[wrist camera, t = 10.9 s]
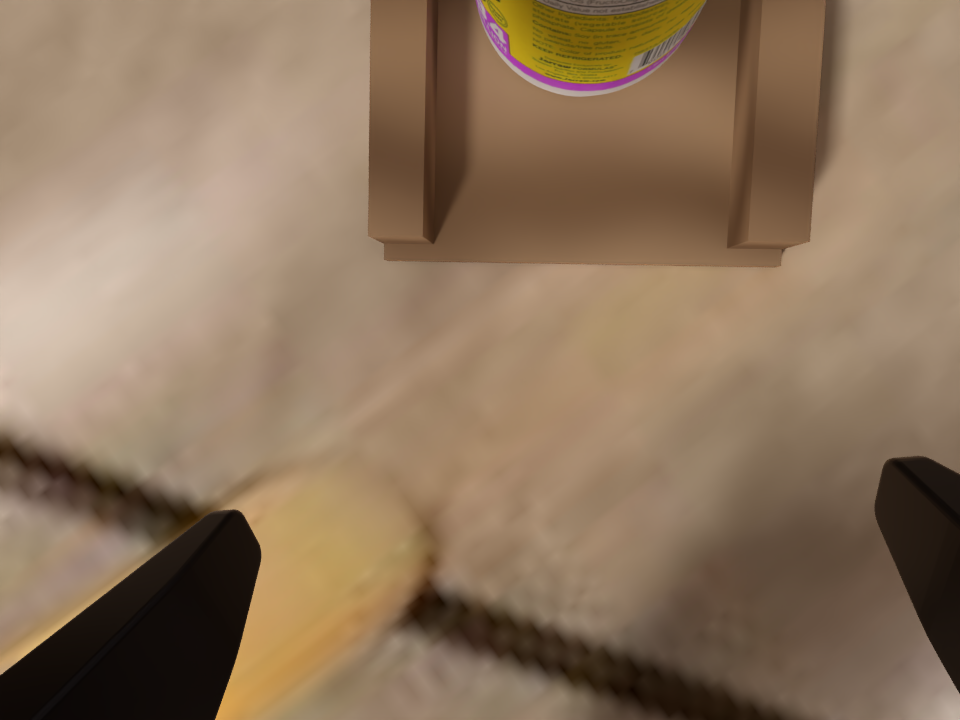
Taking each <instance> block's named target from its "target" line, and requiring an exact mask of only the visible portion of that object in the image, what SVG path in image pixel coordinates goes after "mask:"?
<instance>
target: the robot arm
mask: <svg viewBox="0 0 960 720" xmlns="http://www.w3.org/2000/svg"><path fill="white" fill-rule="evenodd" d="M875 516H876V520H877V523H878V525H879V527H880V530H881V532H882V534H883V537H884V539H885V541H886V544H887V546H888V548H889V550H890V553H891V555H892V557H893V560H894V562H895V564H896V566H897V569H898V571H899V573H900V576H901V578H902V580H903V583H904V585H905V587H906V589H907V592H908V594H909V596H910V599H911V601H912V603H913V606H914V608H915V610H916V612H917V615H918V617H919V619H920V621H921V623H922V626H923V628H924V630H925V632H926V634H927V636H928V638H929V640H930V642H931V644H932V645H933V647H934V649H935V651H936V653H937V655H938V657H939V658H940V660H941V662H942V664H943V665H944V667H945V669H946V671H947V672H948V674H949V676H950V678H951V679H952V681H953V683H954V685H955V686H956V688H957V690H958V692H959V693H960V474H958V473H956V472H954V471H952V470H951V469H949V468H947V467H945V466H943V465H941V464H939V463H937V462H935V461H934V460H932V459H929V458H927V457H923V456H913V457H900V458H892V459H889V460H887V461H886V463H885V464H884V466H883V469H882V474H881V478H880V483H879V487H878V491H877V496H876V500H875ZM260 562H261V549H260V545H259V543H258V541H257V539H256V537H255V535H254V533H253V532H252V530H251V528H250V526H249V524H248V522H247V520H246V519H245V517H244V515H243V514H242V513H241V512H240V511H238V510H222V511H214V512H211V513H209V514H208V515H206V516H205V517H204V518H202V519H201V520H200V521H198V522H197V523H196V524H195V525H193V526H192V527H191V528H189V529H188V530H187V531H186V532H184V533H183V534H182V535H180V536H179V537H178V538H177V539H175V540H174V541H173V542H171V543H170V544H169V545H168V546H166V547H165V548H164V549H162V550H161V551H160V552H159V553H157V554H156V555H155V556H153V557H152V558H151V559H150V560H148V561H147V562H146V563H144V564H143V565H142V566H141V567H139V568H138V569H137V570H135V571H134V572H133V573H131V574H130V575H129V576H128V577H126V578H125V579H124V580H122V581H121V582H120V583H119V584H117V585H116V586H115V587H113V588H112V589H111V590H110V591H108V592H107V593H106V594H104V595H103V596H102V597H101V598H99V599H98V600H97V601H95V602H94V603H93V604H92V605H90V606H89V607H88V608H86V609H85V610H84V611H83V612H81V613H80V614H79V615H77V616H76V617H75V618H73V619H72V620H71V621H70V622H68V623H67V624H66V625H64V626H63V627H62V628H61V629H59V630H58V631H57V632H55V633H54V634H53V635H52V636H50V637H49V638H48V639H46V640H45V641H44V642H43V643H41V644H40V645H39V646H37V647H36V648H35V649H34V650H32V651H31V652H30V653H28V654H27V655H26V656H25V657H23V658H22V659H21V660H19V661H18V662H17V663H16V664H14V665H13V666H12V667H10V668H9V669H8V670H6V671H5V672H4V673H3V674H1V675H0V720H215V718H216V715H217V713H218V710H219V707H220V704H221V701H222V699H223V696H224V693H225V690H226V687H227V684H228V682H229V679H230V676H231V673H232V670H233V667H234V664H235V661H236V657H237V654H238V650H239V647H240V643H241V639H242V635H243V631H244V627H245V623H246V619H247V615H248V611H249V607H250V603H251V599H252V595H253V591H254V587H255V583H256V579H257V575H258V571H259V567H260Z"/></svg>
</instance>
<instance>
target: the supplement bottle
mask: <svg viewBox="0 0 960 720" xmlns="http://www.w3.org/2000/svg"><path fill="white" fill-rule="evenodd" d="M706 2H707V0H476V4H477V8H478V12H479V15H480V18H481V22H482V24H483V27H484V30H485V32H486V34H487V36H488V38H489V40H490V42H491V44H492V45H493V47H494V48H495V50H496V51H497V53H498V54H499V56H500V57H501V58H502V59H503V61H504V62H505V63H506V64H507V65H508V66H509V67H510V68H511V69H512V70H513V71H515V72H516V73H517V74H518V75H520V76H521V77H522V78H524V79H525V80H526V81H528V82H530V83H532V84H533V85H535V86H537V87H539V88H542V89H544V90H547V91H550V92H553V93H556V94H561V95H565V96H573V97H585V96H595V95H602V94H607V93H612V92H615V91H618V90H621V89H624V88H626V87H628V86H631V85H633V84H635V83H637V82H639V81H641V80H642V79H644V78H646V77H647V76H649V75H650V74H651V73H653V72H654V71H655V70H657V69H658V68H659V67H660V66H661V65H662V64H663V63H664V62H665V61H667V59H668V58H669V57H670V56H671V55H672V54H673V53H674V52H675V51H676V50H677V49H678V47H679V46H680V44H681V43H682V42H683V40H684V39H685V37H686V36H687V34H688V32H689V31H690V30H691V28H692V26H693V25H694V23H695V21H696V19H697V18H698V16H699V14H700V12H701V10H702V9H703V7H704V5H705V3H706Z"/></svg>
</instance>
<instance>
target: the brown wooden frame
mask: <svg viewBox="0 0 960 720" xmlns="http://www.w3.org/2000/svg"><path fill="white" fill-rule="evenodd" d="M825 7H826V0H707V2H706V3H705V5H704V7H703V9H702V10H701V12H700V14H699V16H698V18H697V19H696V21H695V23H694V25H693V26H692V28H691V30H690V31H689V32H688V34H687V36H686V37H685V39H684V40H683V42H682V43H681V44H680V46H679V47H678V49H677V50H676V51H675V52H674V53H673V54H672V55H671V56H670V57H669V58H668V59H667V61H665V62H664V63H663V64H662V65H661V66H660V67H659V68H658V69H657V70H655V71H654V72H653V73H651V74H650V75H649V76H647V77H646V78H644V79H642V80H641V81H639V82H637V83H635V84H633V85H631V86H628V87H626V88H624V89H621V90H618V91H615V92H612V93H607V94H602V95H595V96H585V97H573V96H565V95H561V94H556V93H553V92H550V91H547V90H544V89H542V88H539V87H537V86H535V85H533V84H532V83H530V82H528V81H526V80H525V79H524V78H522V77H521V76H520V75H518V74H517V73H516V72H515V71H513V70H512V69H511V68H510V67H509V66H508V65H507V64H506V63H505V62H504V61H503V59H502V58H501V57H500V56H499V54H498V53H497V51H496V50H495V48H494V47H493V45H492V44H491V42H490V40H489V38H488V36H487V34H486V32H485V30H484V27H483V24H482V22H481V18H480V15H479V12H478V8H477V4H476V0H371V29H370V120H369V211H368V236H370V237H372V238H374V239H376V240H378V241H380V242H382V243H384V260H387V261H436V262H495V263H554V264H614V265H673V266H733V267H779V266H781V255H782V249H785V248H788V247H792V246H795V245H799V244H803V243H806V242H810V231H811V216H812V201H813V186H814V171H815V156H816V141H817V126H818V111H819V97H820V82H821V67H822V52H823V37H824V22H825Z"/></svg>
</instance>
